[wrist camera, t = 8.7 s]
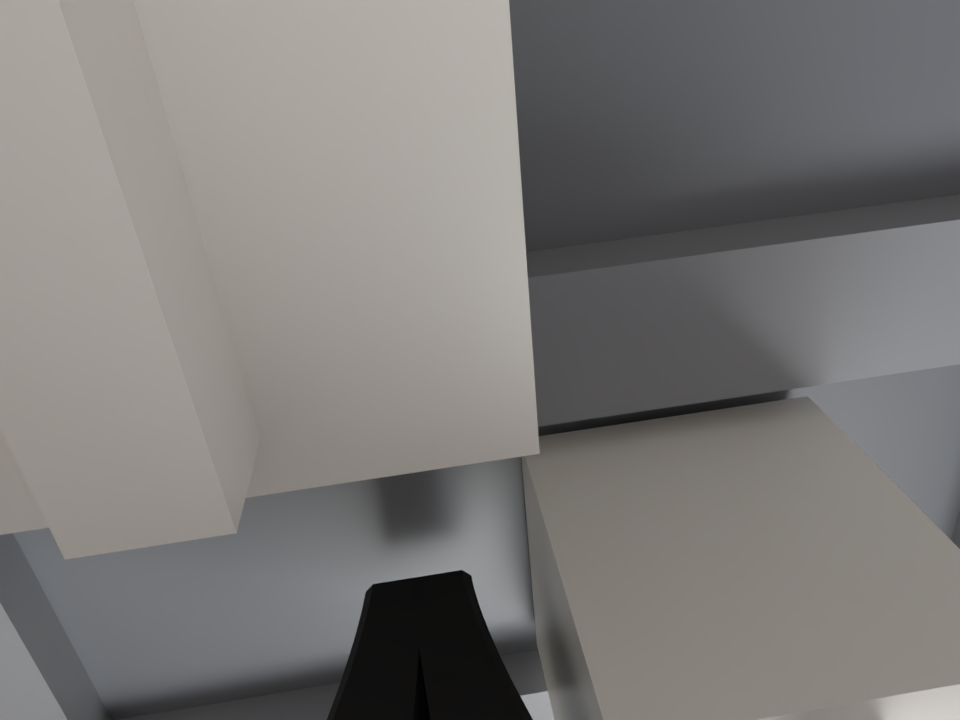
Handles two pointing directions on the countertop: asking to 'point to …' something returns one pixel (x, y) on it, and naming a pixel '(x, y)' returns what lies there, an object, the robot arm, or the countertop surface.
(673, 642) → the tab
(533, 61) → the switch board
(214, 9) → the beige block
